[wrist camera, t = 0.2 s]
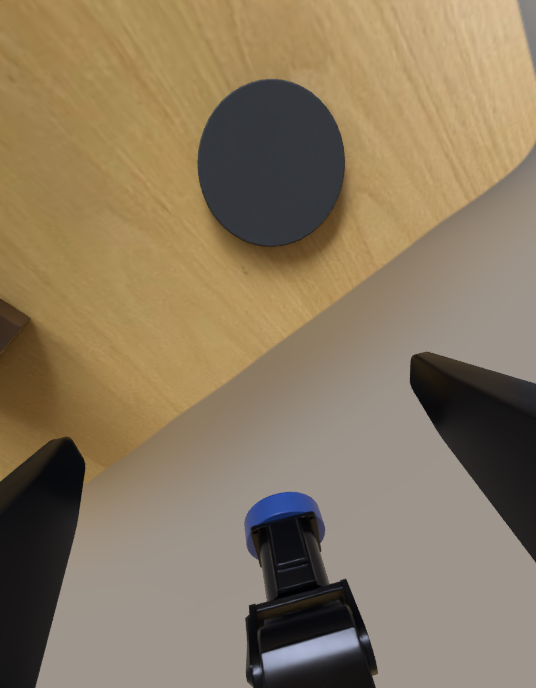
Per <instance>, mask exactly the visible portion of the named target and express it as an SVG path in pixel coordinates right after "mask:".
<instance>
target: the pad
mask: <svg viewBox="0 0 536 688" xmlns="http://www.w3.org/2000/svg"><path fill="white" fill-rule="evenodd" d="M344 169H345V156H344V147H343V142H342V138H341V134H340V132H339V129H338V126H337V124H336V122H335V120H334V118H333V116H332V115H331V113H330V112H329V110H328V109H327V107H326V106H325V105H324V104H323V103H322V101H321V100H320V99H319V98H317V97H316V96H315V95H314V94H313V93H312V92H310V91H309V90H307V89H305V88H304V87H302V86H300V85H297V84H295V83H293V82H289V81H285V80H278V79H266V80H259V81H255V82H251V83H248V84H246V85H244V86H241V87H240V88H238V89H236V90H235V91H233V92H232V93H230V94H229V95H228V96H227V97H226V98H225V99H223V100H222V102H221V103H220V104H219V105H218V106H217V107H216V109H215V110H214V112H213V113H212V115H211V116H210V118H209V120H208V122H207V124H206V126H205V128H204V131H203V134H202V137H201V141H200V146H199V151H198V175H199V181H200V186H201V189H202V193H203V196H204V198H205V200H206V203H207V205H208V207H209V208H210V210H211V212H212V214H213V215H214V216H215V218H216V219H217V220H218V222H219V223H220V224H221V225H222V226H223V227H224V228H225V229H227V230H228V231H229V232H230V233H232V234H233V235H235V236H236V237H238V238H240V239H241V240H244V241H246V242H248V243H252V244H255V245H260V246H282V245H287V244H290V243H293V242H296V241H298V240H300V239H302V238H304V237H306V236H307V235H309V234H310V233H311V232H313V231H314V230H315V229H316V228H317V227H318V226H320V225H321V224H322V222H323V221H324V220H325V219H326V218H327V216H328V215H329V213H330V212H331V210H332V209H333V207H334V205H335V203H336V201H337V199H338V196H339V193H340V190H341V187H342V182H343V178H344Z"/></svg>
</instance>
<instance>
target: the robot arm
mask: <svg viewBox="0 0 536 688" xmlns="http://www.w3.org/2000/svg"><path fill="white" fill-rule="evenodd" d="M410 384H411V387H412V389H413V391H414V393H415V395H416V396H417V397H418V399H419V401H420V403H421V404H422V406H423V408H424V410H425V411H426V413H427V415H428V416H429V418H430V420H431V421H432V423H433V425H434V426H435V428H436V430H437V431H438V433H439V434H440V436H441V437H442V439H443V440H444V441H445V443H446V444H447V445H448V447H449V448H450V449H451V451H452V452H453V453H454V455H455V456H456V457H457V459H458V460H459V461H460V463H461V464H462V465H463V467H464V468H465V469H466V470H467V472H468V473H469V475H470V476H471V477H472V478H473V480H474V481H475V483H476V484H477V485H478V486H479V488H480V489H481V490H482V492H483V493H484V494H485V496H486V497H487V498H488V500H489V501H490V502H491V504H492V505H493V506H494V508H495V509H496V510H497V511H498V513H499V514H500V516H501V517H502V518H503V520H504V521H505V522H506V524H507V525H508V526H509V528H510V529H511V530H512V532H513V533H514V534H515V536H516V537H517V538H518V539H519V541H520V542H521V543H522V545H523V546H524V547H525V549H526V550H527V551H528V553H529V554H530V555H531V557H532V558H533V559H534V561H535V562H536V384H535V383H532V382H528V381H525V380H521V379H518V378H514V377H511V376H508V375H505V374H501V373H498V372H494V371H491V370H487V369H484V368H481V367H477V366H474V365H471V364H467V363H464V362H461V361H457V360H454V359H451V358H447V357H444V356H440V355H437V354H434V353H430V352H423V353H419V354H415V355H413V356H412V358H411V365H410ZM84 474H85V461H84V458H83V457H82V455H81V453H80V452H79V450H78V448H77V447H76V445H75V443H74V441H73V440H72V439H71V438H70V437H62V438H58V439H54V440H51V441H49V442H48V443H47V444H45V445H44V446H43V447H42V448H41V449H39V450H38V451H37V452H36V453H35V454H33V455H32V456H31V457H30V458H28V459H27V460H26V461H25V462H24V463H22V464H21V465H20V466H19V467H18V468H16V469H15V470H14V471H13V472H11V473H10V474H9V475H8V476H7V477H5V478H4V479H3V480H2V481H0V688H35V687H36V683H37V679H38V675H39V671H40V667H41V663H42V660H43V656H44V652H45V648H46V644H47V640H48V636H49V632H50V628H51V625H52V621H53V617H54V613H55V609H56V605H57V601H58V598H59V594H60V589H61V586H62V582H63V578H64V574H65V570H66V567H67V563H68V559H69V555H70V551H71V547H72V543H73V539H74V535H75V531H76V527H77V521H78V515H79V508H80V502H81V495H82V488H83V481H84ZM250 533H251V537H252V540H253V544H254V547H255V550H256V554H257V557H258V560H259V564H260V567H261V568H262V570H263V577H264V584H265V591H266V598H267V602H264V603H260V604H257V605H256V604H252V605H249V615H248V616H247V617H246V619H245V620H246V631H247V660H246V678H247V682H248V683H249V684H250V685H251V686H252V687H253V688H376V687H375V684H374V681H373V678H372V675H376V674H377V673H378V670H377V665H376V661H375V656H374V653H373V649H372V646H371V643H370V639H369V636H368V633H367V630H366V627H365V625H364V622H363V620H362V617H361V615H360V612H359V610H358V607H357V605H356V602H355V600H354V597H353V595H352V592H351V590H350V587H349V585H348V582H347V580H346V579H343V580H340V582H336V583H333V584H329V581H328V577H327V574H326V571H325V567H324V564H323V561H322V557H321V554H320V552H321V547H320V539H319V532H318V525H317V519H316V515H315V512H313V511H309V512H305V513H301V514H297V515H294V516H290V517H286V518H282V519H278V520H274V521H270V522H266V523H262V524H258V525H254V526H252V527H251V528H250Z"/></svg>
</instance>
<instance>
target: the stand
mask: <svg viewBox="0 0 536 688" xmlns="http://www.w3.org/2000/svg"><path fill="white" fill-rule="evenodd" d="M30 319H31V318H29V317H28V316H26V315H25V314H23V313H22V312H20V311H19V310H17V309H16V308H14V307H13V306H11V305H10V304H8V303H6V302H5V301H3V300H2V299H0V355H1V353H2V352H3V351H4V350H5V349H6V348H7V346H8V345H9V344H10V343H11V342H12V341H13V339H14V338H15V337H16V336H17V335H18V333H19V332H20V331H21V330H22V329H23V328H24V326H25V325H26V324H27V323H28V322H29V321H30Z"/></svg>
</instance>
